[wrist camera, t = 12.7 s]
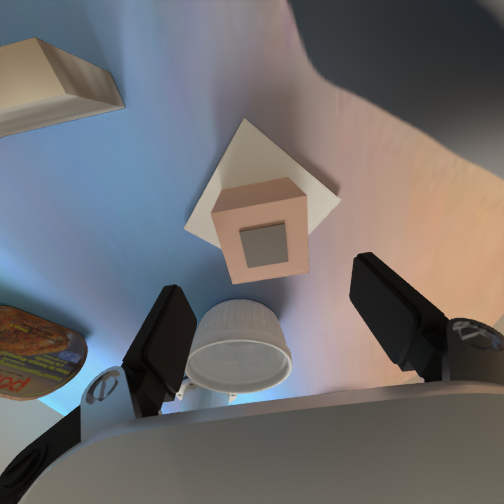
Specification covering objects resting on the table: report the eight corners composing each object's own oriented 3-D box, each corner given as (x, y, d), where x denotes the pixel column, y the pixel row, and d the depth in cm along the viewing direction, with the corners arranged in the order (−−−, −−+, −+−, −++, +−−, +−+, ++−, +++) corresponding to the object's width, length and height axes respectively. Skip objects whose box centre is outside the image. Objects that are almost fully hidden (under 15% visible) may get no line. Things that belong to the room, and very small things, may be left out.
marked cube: (292, 236, 19) (309, 274, 14) (236, 246, 20) (232, 286, 14) (287, 177, 16) (308, 196, 11) (221, 189, 17) (209, 214, 11)
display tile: (269, 270, 23) (269, 275, 22) (186, 224, 19) (183, 228, 18) (337, 197, 18) (341, 200, 17) (244, 118, 15) (244, 117, 14)
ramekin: (264, 352, 33) (268, 399, 27) (189, 339, 30) (176, 389, 24) (298, 302, 26) (313, 350, 20) (206, 281, 24) (192, 329, 18)
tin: (101, 341, 30) (55, 406, 23) (92, 349, 31) (46, 413, 24) (-18, 293, 24) (-133, 360, 16) (-23, 305, 25) (-132, 373, 18)
